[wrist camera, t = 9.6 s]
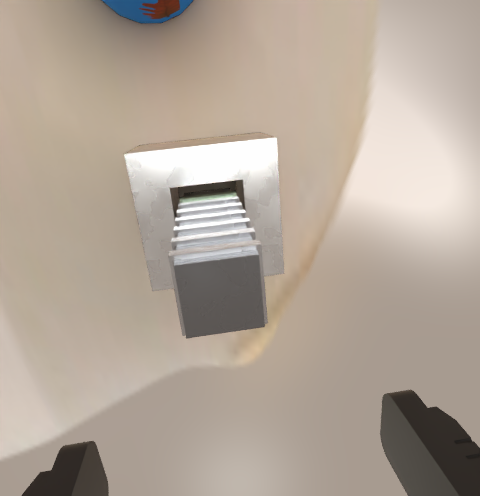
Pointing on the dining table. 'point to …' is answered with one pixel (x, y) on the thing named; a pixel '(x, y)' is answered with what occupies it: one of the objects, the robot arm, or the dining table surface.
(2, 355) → the dining table surface
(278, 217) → the housing
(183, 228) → the column
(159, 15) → the thermos
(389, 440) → the robot arm
